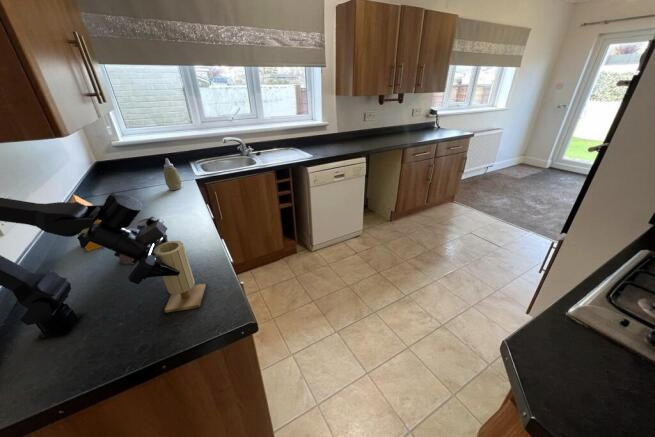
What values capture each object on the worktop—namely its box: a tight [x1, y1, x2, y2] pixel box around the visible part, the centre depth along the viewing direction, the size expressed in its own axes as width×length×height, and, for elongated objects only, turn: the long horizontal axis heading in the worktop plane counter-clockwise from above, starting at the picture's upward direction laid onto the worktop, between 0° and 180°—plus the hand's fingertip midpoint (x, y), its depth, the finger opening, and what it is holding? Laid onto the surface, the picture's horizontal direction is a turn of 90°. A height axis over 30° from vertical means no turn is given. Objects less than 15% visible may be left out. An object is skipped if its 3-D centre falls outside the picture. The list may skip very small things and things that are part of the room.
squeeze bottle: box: [163, 157, 182, 191], centre depth 154 cm, size 8×8×18 cm
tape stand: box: [164, 283, 207, 314], centre depth 78 cm, size 9×9×5 cm
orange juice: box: [69, 193, 103, 252], centre depth 102 cm, size 8×9×20 cm
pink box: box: [118, 254, 135, 265], centre depth 93 cm, size 8×3×10 cm, turn 92°
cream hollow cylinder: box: [154, 240, 195, 294], centre depth 73 cm, size 7×7×13 cm
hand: (180, 266), depth 74 cm, fingers closed on cream hollow cylinder, 7 cm apart
